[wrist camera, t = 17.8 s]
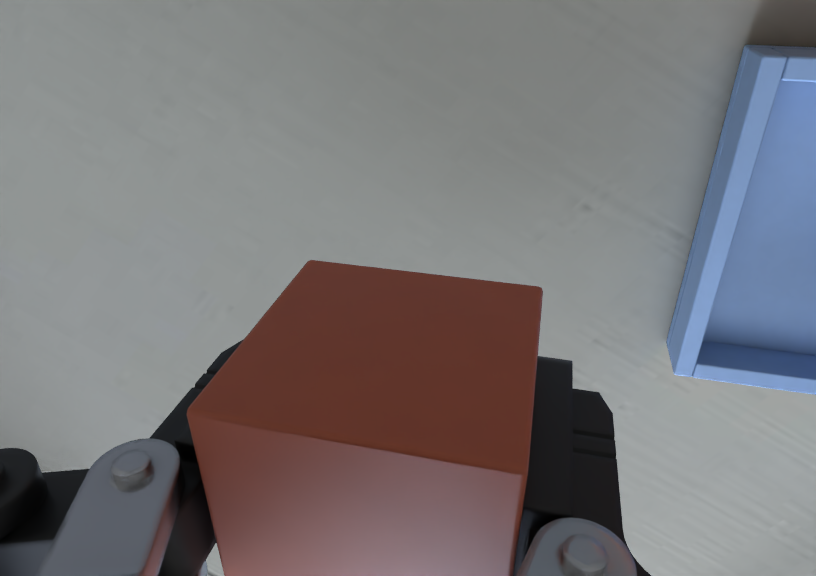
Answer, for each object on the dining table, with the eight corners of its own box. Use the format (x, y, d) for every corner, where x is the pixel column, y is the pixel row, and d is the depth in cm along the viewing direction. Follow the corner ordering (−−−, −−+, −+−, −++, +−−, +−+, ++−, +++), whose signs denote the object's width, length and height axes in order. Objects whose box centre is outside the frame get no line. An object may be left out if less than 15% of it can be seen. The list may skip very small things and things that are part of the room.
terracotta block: (323, 430, 14) (231, 612, 10) (308, 258, 11) (181, 410, 8) (518, 464, 13) (497, 679, 9) (543, 285, 11) (529, 471, 7)
